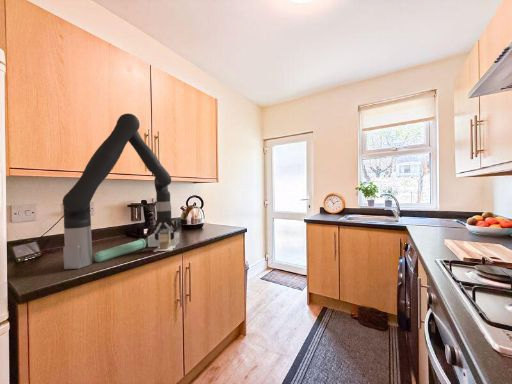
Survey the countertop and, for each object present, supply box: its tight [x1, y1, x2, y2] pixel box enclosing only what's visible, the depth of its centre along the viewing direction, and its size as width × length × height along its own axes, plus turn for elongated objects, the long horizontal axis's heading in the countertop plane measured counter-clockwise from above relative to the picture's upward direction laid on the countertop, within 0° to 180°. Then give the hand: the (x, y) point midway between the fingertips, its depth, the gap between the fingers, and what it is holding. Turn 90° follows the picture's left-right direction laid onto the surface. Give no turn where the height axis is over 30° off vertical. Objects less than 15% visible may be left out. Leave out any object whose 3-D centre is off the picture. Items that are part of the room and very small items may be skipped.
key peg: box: [159, 228, 171, 249], centre depth 120 cm, size 4×4×10 cm
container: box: [93, 238, 147, 263], centre depth 112 cm, size 6×6×25 cm
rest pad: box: [152, 245, 177, 253], centre depth 120 cm, size 9×9×1 cm
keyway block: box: [147, 231, 180, 248], centre depth 131 cm, size 10×15×6 cm, turn 94°
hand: (164, 239), depth 120 cm, fingers open, 7 cm apart
